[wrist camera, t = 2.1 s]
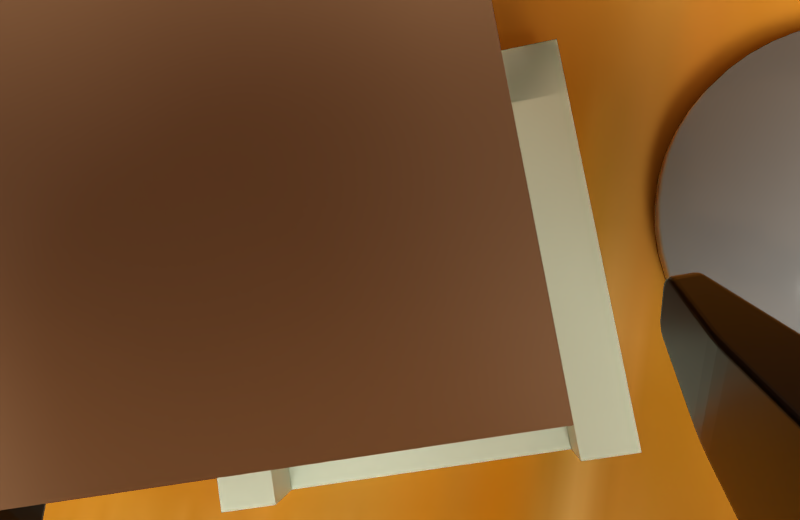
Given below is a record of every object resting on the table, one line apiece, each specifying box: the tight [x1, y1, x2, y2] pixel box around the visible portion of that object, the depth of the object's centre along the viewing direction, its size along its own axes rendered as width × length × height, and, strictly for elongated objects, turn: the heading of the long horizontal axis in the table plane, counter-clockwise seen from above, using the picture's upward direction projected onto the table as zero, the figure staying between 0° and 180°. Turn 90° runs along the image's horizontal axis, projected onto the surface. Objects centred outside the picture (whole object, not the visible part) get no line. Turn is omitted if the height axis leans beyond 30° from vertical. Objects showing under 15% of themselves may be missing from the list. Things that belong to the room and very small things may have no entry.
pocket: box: [217, 39, 642, 513], centre depth 18 cm, size 11×11×2 cm
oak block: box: [0, 0, 574, 510], centre depth 12 cm, size 5×5×13 cm
